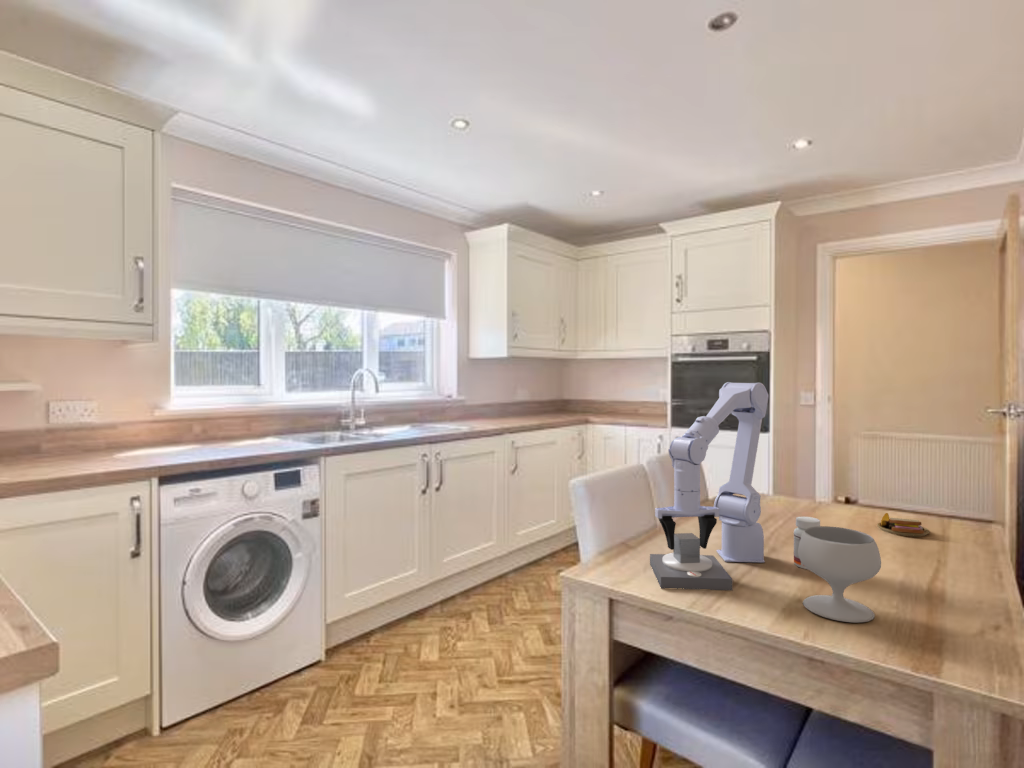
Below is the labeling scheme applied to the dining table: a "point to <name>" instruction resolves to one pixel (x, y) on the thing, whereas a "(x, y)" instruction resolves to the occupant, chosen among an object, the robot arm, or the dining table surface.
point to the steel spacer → (686, 548)
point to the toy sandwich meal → (902, 526)
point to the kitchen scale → (690, 573)
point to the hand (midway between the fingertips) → (687, 547)
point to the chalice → (839, 569)
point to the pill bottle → (802, 526)
